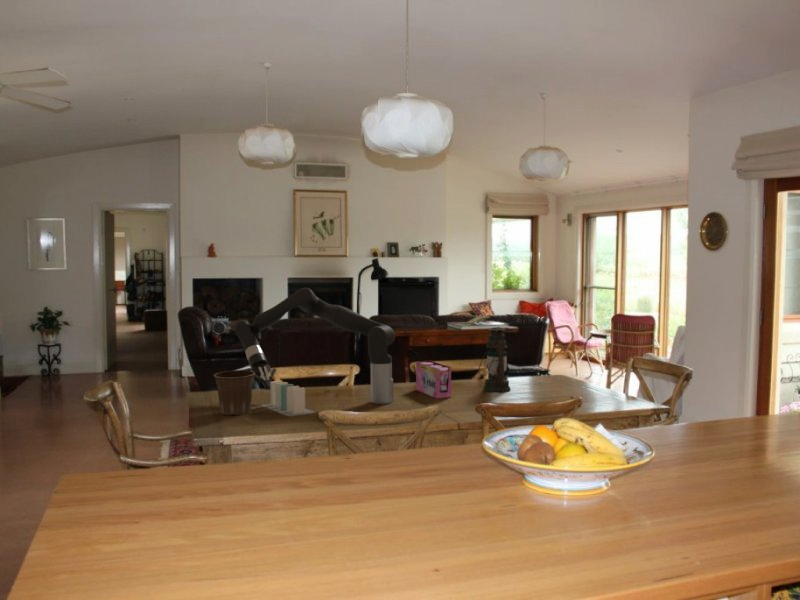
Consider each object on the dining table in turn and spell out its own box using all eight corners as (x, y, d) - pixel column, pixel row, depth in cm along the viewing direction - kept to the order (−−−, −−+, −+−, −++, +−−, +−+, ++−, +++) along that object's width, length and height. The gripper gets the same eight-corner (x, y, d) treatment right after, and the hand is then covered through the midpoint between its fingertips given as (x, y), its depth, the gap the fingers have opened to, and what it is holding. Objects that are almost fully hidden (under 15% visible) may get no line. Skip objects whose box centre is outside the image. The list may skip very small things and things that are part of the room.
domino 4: (292, 413, 275) (291, 388, 275) (303, 411, 278) (303, 387, 278) (294, 414, 274) (293, 389, 273) (305, 412, 277) (304, 388, 276)
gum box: (453, 397, 305) (453, 367, 305) (437, 399, 302) (436, 368, 302) (430, 388, 328) (430, 360, 327) (415, 389, 325) (415, 361, 324)
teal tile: (281, 409, 283) (280, 385, 283) (292, 407, 286) (291, 383, 286) (283, 409, 282) (282, 385, 282) (294, 408, 285) (293, 384, 284)
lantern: (515, 393, 313) (516, 328, 311) (485, 394, 311) (485, 329, 310) (504, 385, 332) (504, 324, 330) (475, 386, 331) (475, 324, 329)
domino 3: (286, 411, 279) (286, 387, 279) (297, 409, 282) (297, 385, 282) (288, 412, 278) (288, 387, 277) (299, 410, 281) (299, 386, 280)
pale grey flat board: (260, 406, 291) (260, 405, 291) (286, 402, 298) (286, 401, 298) (289, 417, 270) (289, 416, 270) (315, 413, 277) (315, 412, 277)
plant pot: (235, 419, 269) (234, 378, 268) (206, 414, 277) (205, 374, 276) (264, 411, 282) (263, 372, 281) (235, 406, 291) (234, 369, 290)
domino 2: (275, 407, 287) (275, 383, 287) (286, 405, 290) (286, 382, 290) (277, 407, 286) (277, 384, 286) (288, 406, 289) (287, 382, 288)
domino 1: (270, 405, 291) (270, 381, 291) (281, 403, 294) (280, 380, 294) (272, 405, 290) (271, 382, 290) (282, 404, 293) (282, 381, 292)
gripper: (267, 361, 312) (280, 391, 303) (239, 364, 304) (252, 395, 295) (272, 350, 307) (285, 381, 298) (244, 353, 299) (256, 385, 290)
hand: (268, 388), depth 296 cm, fingers closed
